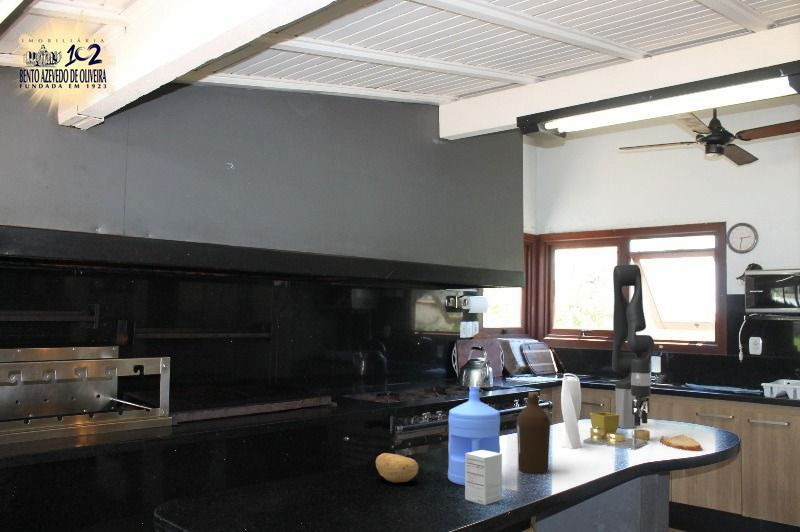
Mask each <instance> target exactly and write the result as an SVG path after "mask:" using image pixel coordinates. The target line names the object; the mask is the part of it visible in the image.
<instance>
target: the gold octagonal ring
mask: <svg viewBox="0 0 800 532" xmlns="http://www.w3.org/2000/svg"><path fill="white" fill-rule="evenodd" d="M633 431H636V439H640V440H649V441H650V440H651V439H650V438H651V437H650V434H651V433H650V432H651V431H650V430H648V429H641V428H640V429H639V428H638V429H637V428H635V429H634V430H633Z"/></svg>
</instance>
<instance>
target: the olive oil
mask: <svg viewBox="0 0 800 532" xmlns="http://www.w3.org/2000/svg"><path fill="white" fill-rule="evenodd" d="M539 399H540V396H539V392H537V391H536V392H535V391H530V392H528V397H527V401H528V403H527V405H525V407H524V408H523V409H522V410H521V411H520V412H519V414H518V417H517V419H516V432H517V433H516V435H517V436H516V437H517V438H516V439H517V460H518V461H517V462H518V464H517V465H518V470H519V472H522V473H525V474H535V475H537V474H538V475H540V474H542V475H543V474H547V473H548V472H549V458H550V457H549V454H550V453H549V452H550V432H551V420H550V417H549V415H548V414H547V412H546V411H545V410H544V409H543V408H542V406H540V404H539V403H540V402H539V401H540V400H539Z"/></svg>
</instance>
